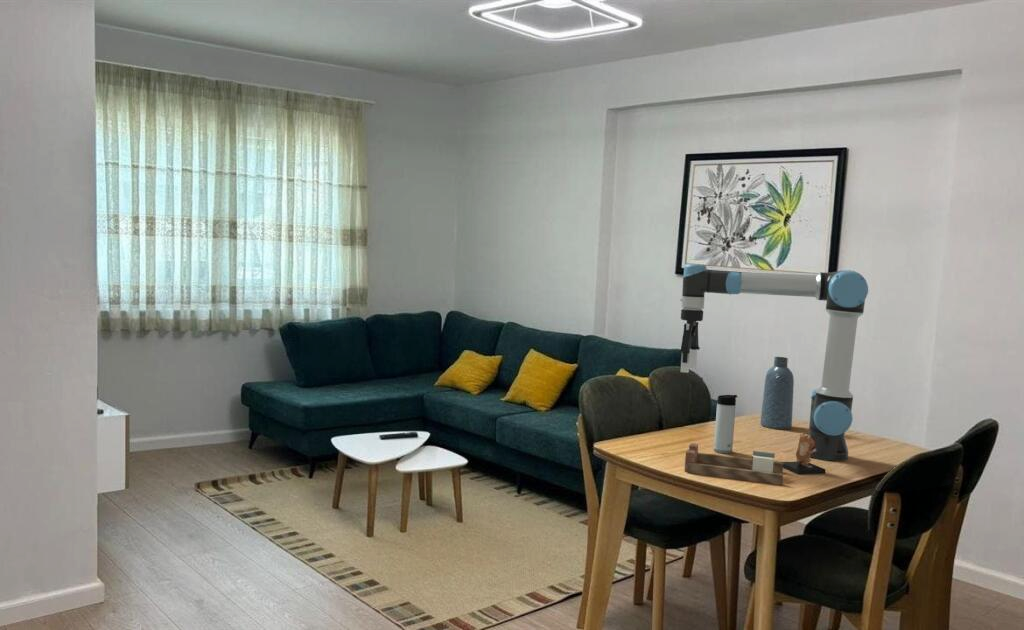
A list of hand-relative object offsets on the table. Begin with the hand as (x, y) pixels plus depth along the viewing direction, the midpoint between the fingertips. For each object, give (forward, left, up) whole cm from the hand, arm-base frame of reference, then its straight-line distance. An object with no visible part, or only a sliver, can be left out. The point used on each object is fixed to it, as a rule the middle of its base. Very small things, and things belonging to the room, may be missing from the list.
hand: (688, 370), depth 293 cm
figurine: (-39, +11, -28) cm, 49 cm away
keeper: (-27, +26, -27) cm, 47 cm away
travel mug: (-14, -1, -28) cm, 31 cm away
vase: (-31, -60, -28) cm, 73 cm away
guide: (-19, +26, -27) cm, 43 cm away
